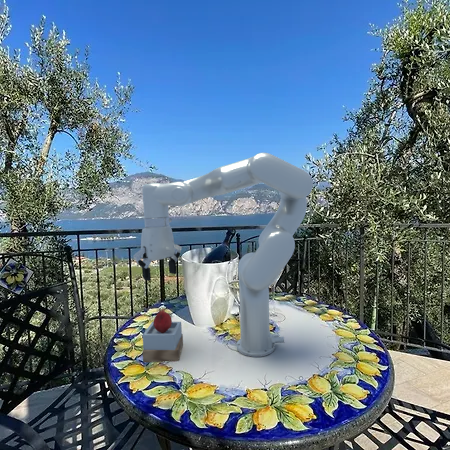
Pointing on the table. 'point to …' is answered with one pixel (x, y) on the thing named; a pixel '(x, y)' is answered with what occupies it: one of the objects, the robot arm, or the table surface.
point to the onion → (162, 321)
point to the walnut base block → (163, 354)
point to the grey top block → (162, 337)
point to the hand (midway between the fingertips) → (160, 276)
